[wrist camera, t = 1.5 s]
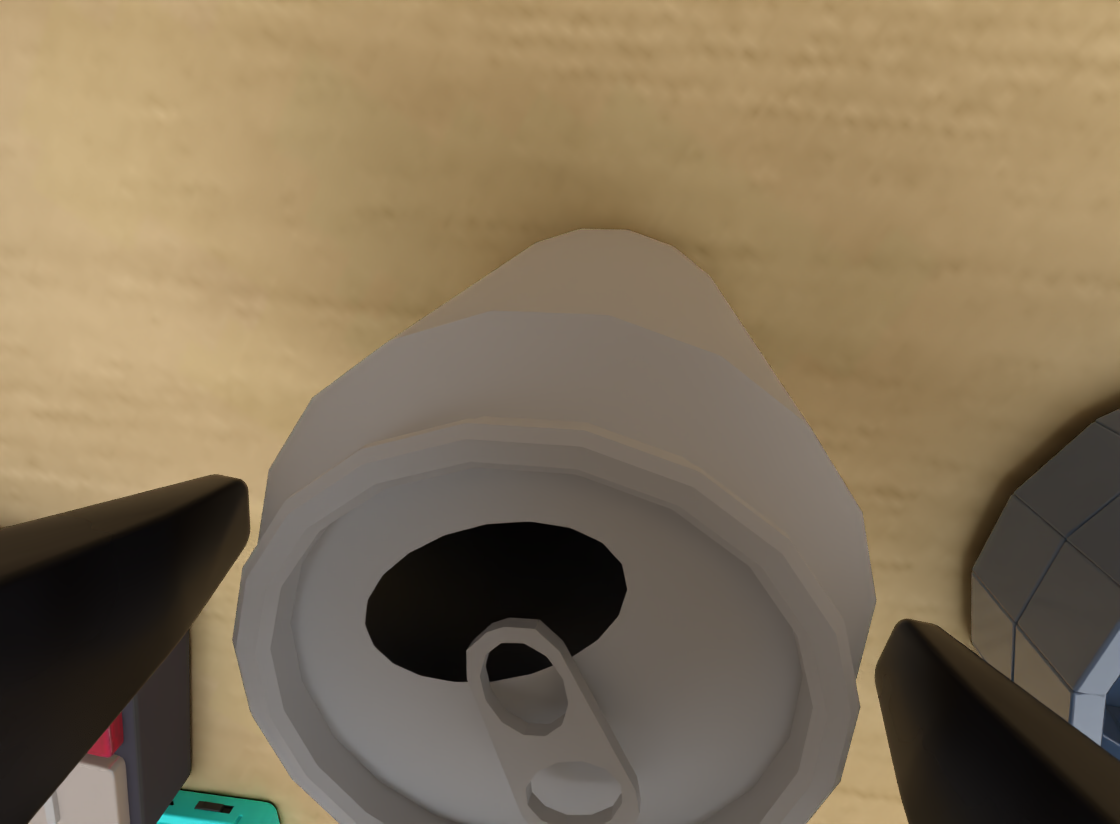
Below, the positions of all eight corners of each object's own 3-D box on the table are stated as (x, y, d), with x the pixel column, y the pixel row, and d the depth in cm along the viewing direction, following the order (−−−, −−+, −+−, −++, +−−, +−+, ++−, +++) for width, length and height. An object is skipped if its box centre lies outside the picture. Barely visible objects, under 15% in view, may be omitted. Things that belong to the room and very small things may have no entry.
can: (674, 170, 15) (775, 166, 4) (777, 427, 17) (1038, 916, 6) (423, 298, 17) (-1, 546, 6) (543, 513, 19) (404, 997, 8)
